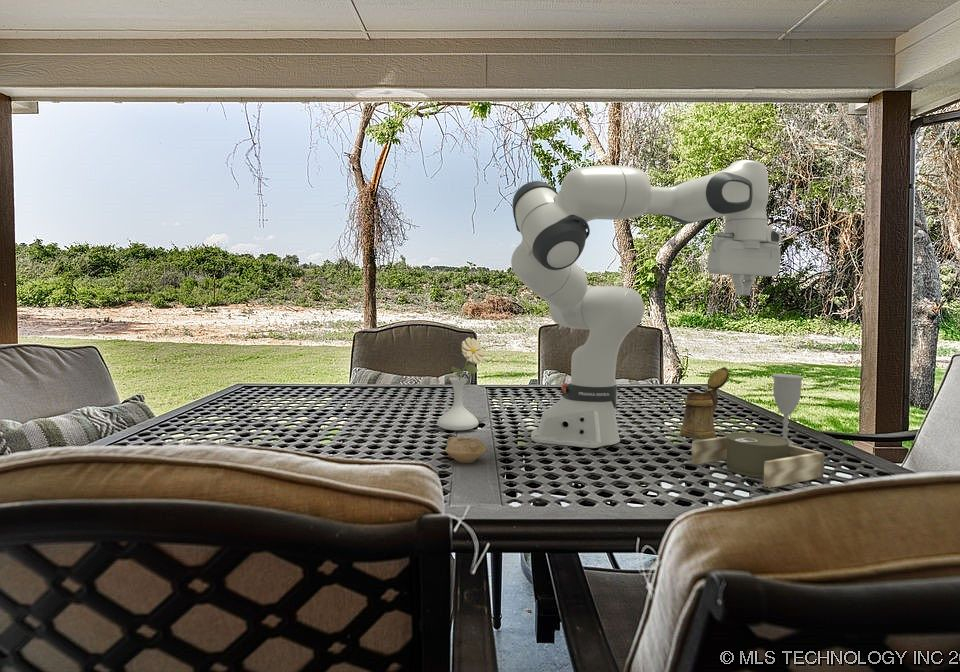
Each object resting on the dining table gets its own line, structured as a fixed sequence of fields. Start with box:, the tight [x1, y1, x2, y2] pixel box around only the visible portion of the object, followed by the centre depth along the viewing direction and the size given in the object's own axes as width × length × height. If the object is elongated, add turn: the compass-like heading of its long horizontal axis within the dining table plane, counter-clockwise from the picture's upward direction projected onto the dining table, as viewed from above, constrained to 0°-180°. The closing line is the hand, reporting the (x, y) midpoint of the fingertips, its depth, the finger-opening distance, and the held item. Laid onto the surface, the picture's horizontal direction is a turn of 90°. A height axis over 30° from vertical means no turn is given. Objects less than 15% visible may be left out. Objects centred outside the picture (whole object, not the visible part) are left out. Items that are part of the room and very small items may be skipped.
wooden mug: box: [679, 366, 730, 440], centre depth 161 cm, size 9×14×18 cm, turn 114°
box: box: [690, 436, 825, 489], centre depth 128 cm, size 17×19×5 cm
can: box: [725, 431, 789, 479], centre depth 128 cm, size 12×12×7 cm
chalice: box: [772, 373, 804, 446], centre depth 145 cm, size 7×7×18 cm
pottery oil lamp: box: [444, 436, 488, 464], centre depth 133 cm, size 9×12×7 cm
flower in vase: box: [436, 337, 486, 431], centre depth 163 cm, size 13×11×25 cm
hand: (742, 295), depth 138 cm, fingers closed
